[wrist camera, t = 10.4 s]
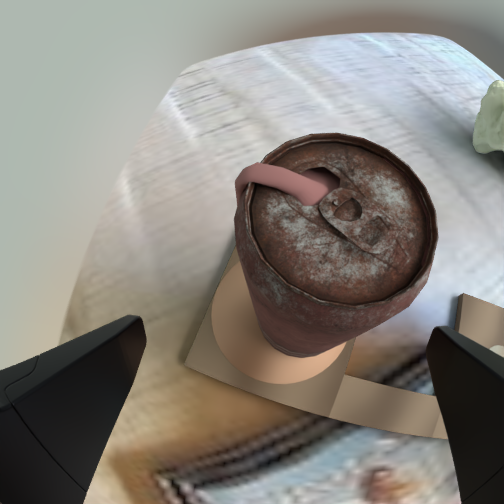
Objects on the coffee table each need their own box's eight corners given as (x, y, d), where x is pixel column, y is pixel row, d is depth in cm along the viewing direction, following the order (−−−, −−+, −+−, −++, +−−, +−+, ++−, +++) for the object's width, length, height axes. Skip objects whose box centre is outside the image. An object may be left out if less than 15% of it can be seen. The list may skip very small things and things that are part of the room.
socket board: (528, 321, 18) (533, 319, 17) (506, 441, 14) (511, 441, 13) (247, 226, 24) (246, 220, 23) (186, 365, 20) (183, 364, 19)
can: (265, 265, 22) (251, 110, 9) (349, 282, 21) (436, 148, 8) (245, 346, 19) (187, 288, 7) (336, 364, 18) (450, 337, 6)
